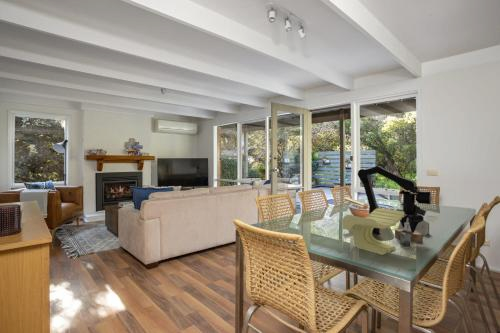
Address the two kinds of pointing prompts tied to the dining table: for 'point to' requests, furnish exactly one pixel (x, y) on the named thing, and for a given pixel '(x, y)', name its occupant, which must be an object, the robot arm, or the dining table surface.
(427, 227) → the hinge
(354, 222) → the slatted curved stool
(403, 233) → the cylinder
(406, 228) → the square bit
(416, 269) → the dining table surface
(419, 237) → the socket block
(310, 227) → the dining table surface
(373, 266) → the dining table surface
